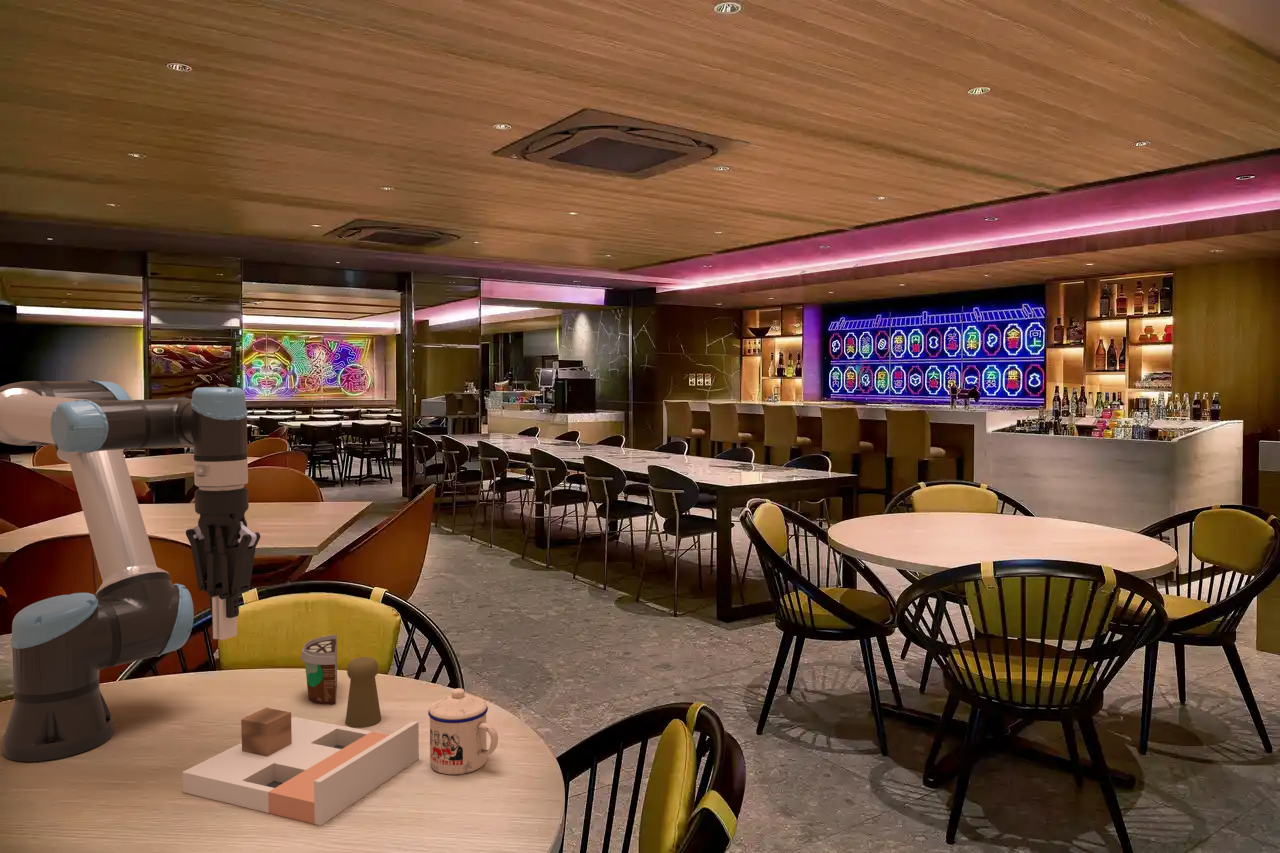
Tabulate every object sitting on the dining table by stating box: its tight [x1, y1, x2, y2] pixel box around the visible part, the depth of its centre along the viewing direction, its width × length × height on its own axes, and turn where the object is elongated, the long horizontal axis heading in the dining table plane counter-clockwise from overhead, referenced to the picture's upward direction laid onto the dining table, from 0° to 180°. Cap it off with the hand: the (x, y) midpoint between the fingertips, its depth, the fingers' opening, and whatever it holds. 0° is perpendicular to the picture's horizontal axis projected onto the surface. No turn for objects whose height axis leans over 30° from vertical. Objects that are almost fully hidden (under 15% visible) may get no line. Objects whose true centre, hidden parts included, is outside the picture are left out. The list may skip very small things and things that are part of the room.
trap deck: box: [181, 716, 420, 827], centre depth 133 cm, size 25×22×6 cm
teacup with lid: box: [427, 687, 499, 775], centre depth 136 cm, size 12×9×12 cm
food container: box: [300, 634, 338, 706], centre depth 164 cm, size 12×6×10 cm, turn 17°
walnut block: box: [240, 707, 292, 757], centre depth 135 cm, size 5×5×5 cm
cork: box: [344, 656, 382, 729], centre depth 153 cm, size 6×6×11 cm
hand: (225, 636), depth 137 cm, fingers closed
